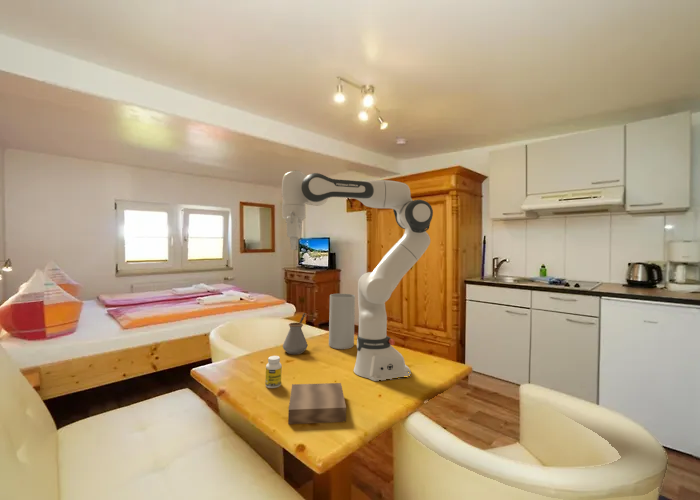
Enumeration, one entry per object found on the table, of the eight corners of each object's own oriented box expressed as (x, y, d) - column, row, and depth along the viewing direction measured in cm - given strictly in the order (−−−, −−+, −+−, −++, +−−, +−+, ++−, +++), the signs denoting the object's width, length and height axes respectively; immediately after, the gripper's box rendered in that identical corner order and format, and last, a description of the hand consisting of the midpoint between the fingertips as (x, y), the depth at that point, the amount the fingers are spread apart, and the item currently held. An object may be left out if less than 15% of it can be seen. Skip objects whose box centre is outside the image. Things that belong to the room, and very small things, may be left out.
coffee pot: (303, 356, 140) (304, 323, 140) (278, 354, 142) (279, 321, 142) (315, 342, 162) (316, 313, 161) (293, 341, 163) (294, 312, 163)
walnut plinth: (340, 395, 105) (341, 383, 105) (345, 421, 89) (346, 407, 89) (291, 396, 103) (292, 384, 103) (288, 424, 87) (288, 409, 87)
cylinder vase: (357, 343, 161) (358, 294, 161) (348, 351, 149) (349, 298, 149) (334, 340, 165) (335, 293, 165) (324, 347, 154) (325, 296, 153)
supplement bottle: (266, 389, 108) (267, 361, 108) (264, 383, 113) (264, 355, 113) (282, 387, 110) (283, 359, 110) (279, 381, 115) (280, 354, 115)
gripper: (300, 210, 111) (301, 249, 111) (303, 216, 132) (304, 250, 131) (282, 210, 111) (282, 249, 110) (288, 217, 131) (288, 250, 131)
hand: (294, 250), depth 121 cm, fingers open, 8 cm apart
